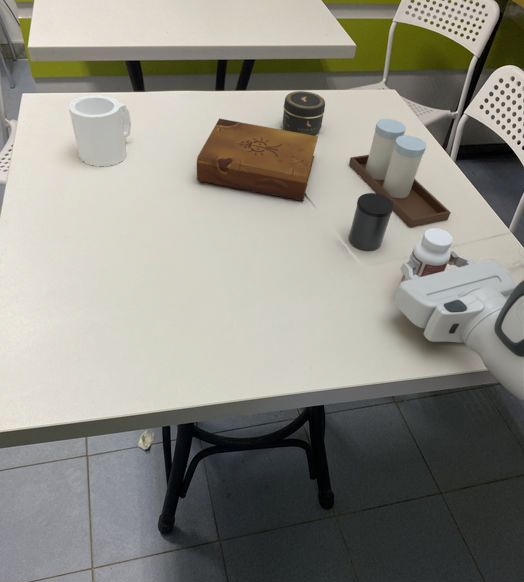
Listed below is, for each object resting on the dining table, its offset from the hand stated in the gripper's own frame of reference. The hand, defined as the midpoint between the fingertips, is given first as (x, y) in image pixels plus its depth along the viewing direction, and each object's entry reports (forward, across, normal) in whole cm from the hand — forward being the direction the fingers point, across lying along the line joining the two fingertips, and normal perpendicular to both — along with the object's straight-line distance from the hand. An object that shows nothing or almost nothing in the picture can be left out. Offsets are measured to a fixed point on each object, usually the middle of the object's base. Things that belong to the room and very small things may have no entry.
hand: (427, 259), depth 85 cm
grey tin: (+14, +3, +6) cm, 15 cm away
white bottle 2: (+27, -13, +5) cm, 31 cm away
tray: (+27, -13, +6) cm, 31 cm away
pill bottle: (0, 0, +6) cm, 6 cm away
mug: (+60, +43, +6) cm, 74 cm away
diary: (+44, +13, +6) cm, 46 cm away
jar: (+59, -5, +6) cm, 59 cm away
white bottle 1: (+35, -13, +5) cm, 37 cm away
